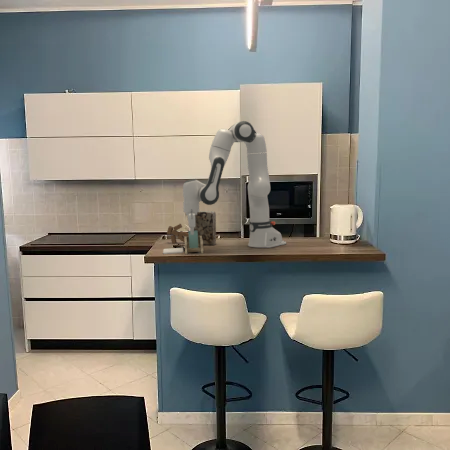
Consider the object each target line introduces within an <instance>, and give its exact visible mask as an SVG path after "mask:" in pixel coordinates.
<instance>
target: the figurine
mask: <svg viewBox="0 0 450 450" xmlns="http://www.w3.org/2000/svg"><path fill="white" fill-rule="evenodd" d="M182 228H183V225H182V223H179V224H177V225H175V226H174V227H173V226H172V225H169V226H168V228H167V230H166V231H167V232H166V235H169V236H170V239H171V240H170V241H171V244H176V243H177V240H180V241H181V242H183V243H185V240H184V236H189V232H188V231H182V230H180V229H182ZM179 230H180V231H179Z"/></svg>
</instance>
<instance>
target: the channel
mask: <svg viewBox="0 0 450 450" xmlns="http://www.w3.org/2000/svg"><path fill="white" fill-rule="evenodd" d="M183 237H184V240H185V242H184V254H185V255H188V253H196V252H197V253H198V252H199V253H200V254H202V255H203V254H204V245H203V239H202V236H198V248H189V236H183Z"/></svg>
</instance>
